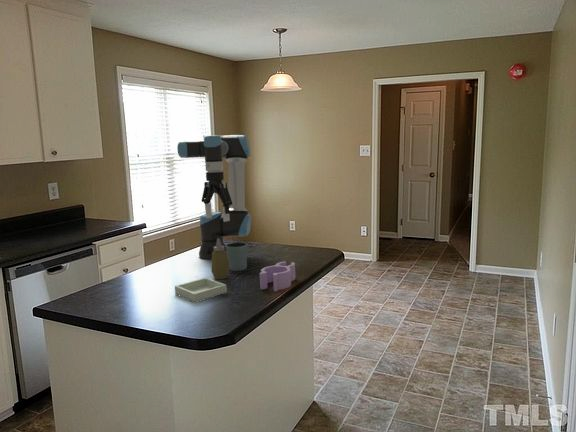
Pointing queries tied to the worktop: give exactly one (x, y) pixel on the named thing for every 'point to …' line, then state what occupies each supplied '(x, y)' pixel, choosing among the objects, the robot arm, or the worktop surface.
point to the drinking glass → (237, 255)
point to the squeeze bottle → (219, 262)
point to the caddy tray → (200, 289)
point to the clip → (277, 276)
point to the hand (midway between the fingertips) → (217, 219)
